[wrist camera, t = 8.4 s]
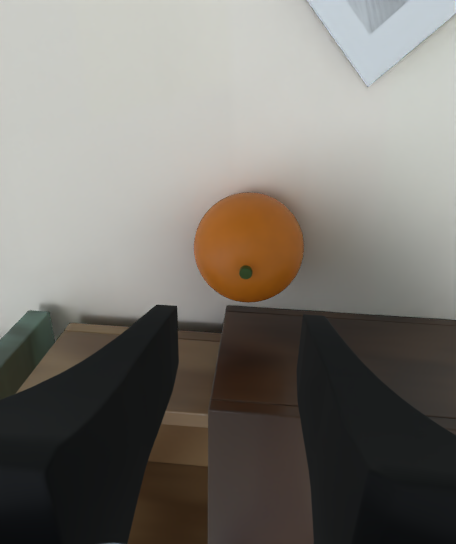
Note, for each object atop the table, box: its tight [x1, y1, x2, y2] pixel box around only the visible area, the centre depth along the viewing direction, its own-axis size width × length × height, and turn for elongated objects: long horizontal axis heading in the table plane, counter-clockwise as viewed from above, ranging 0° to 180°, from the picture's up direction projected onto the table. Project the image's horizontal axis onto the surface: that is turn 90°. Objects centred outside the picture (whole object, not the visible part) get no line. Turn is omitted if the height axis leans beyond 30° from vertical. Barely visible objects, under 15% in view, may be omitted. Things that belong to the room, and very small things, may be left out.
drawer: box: [0, 310, 222, 544], centre depth 23 cm, size 18×11×6 cm, turn 89°
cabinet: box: [208, 306, 456, 544], centre depth 22 cm, size 14×12×8 cm
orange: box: [194, 192, 304, 302], centre depth 19 cm, size 5×5×5 cm
